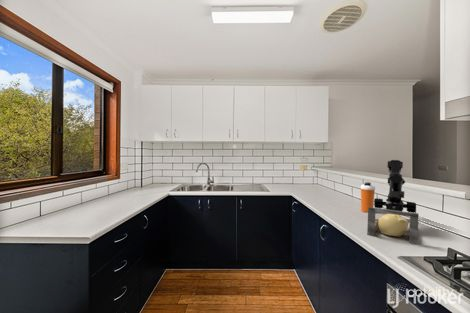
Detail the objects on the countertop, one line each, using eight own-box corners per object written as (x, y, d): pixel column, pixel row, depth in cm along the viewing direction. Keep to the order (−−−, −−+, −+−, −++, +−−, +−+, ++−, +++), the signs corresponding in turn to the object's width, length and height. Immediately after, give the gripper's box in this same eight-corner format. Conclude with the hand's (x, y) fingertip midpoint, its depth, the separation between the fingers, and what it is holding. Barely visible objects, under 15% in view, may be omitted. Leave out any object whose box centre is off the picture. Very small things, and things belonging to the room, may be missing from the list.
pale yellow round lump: (412, 239, 117) (413, 216, 117) (386, 238, 117) (387, 215, 117) (397, 231, 128) (398, 210, 128) (373, 230, 129) (374, 210, 129)
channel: (372, 225, 138) (373, 201, 138) (416, 232, 127) (417, 206, 127) (367, 234, 122) (368, 207, 122) (417, 244, 111) (418, 214, 110)
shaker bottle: (373, 210, 173) (374, 182, 173) (374, 213, 165) (375, 183, 165) (359, 209, 177) (360, 181, 176) (359, 212, 169) (360, 182, 168)
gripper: (375, 183, 138) (371, 206, 129) (416, 187, 127) (416, 212, 118) (376, 195, 144) (373, 218, 135) (415, 200, 133) (415, 225, 125)
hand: (393, 218), depth 128 cm, fingers closed
